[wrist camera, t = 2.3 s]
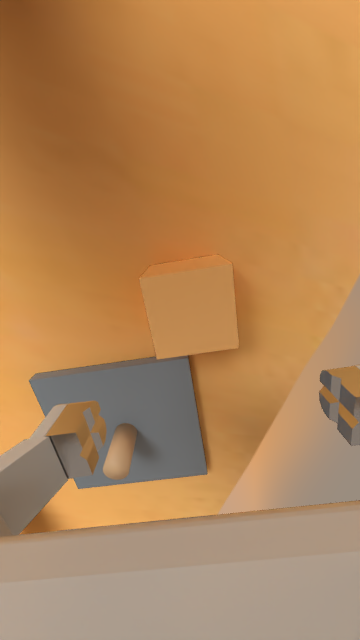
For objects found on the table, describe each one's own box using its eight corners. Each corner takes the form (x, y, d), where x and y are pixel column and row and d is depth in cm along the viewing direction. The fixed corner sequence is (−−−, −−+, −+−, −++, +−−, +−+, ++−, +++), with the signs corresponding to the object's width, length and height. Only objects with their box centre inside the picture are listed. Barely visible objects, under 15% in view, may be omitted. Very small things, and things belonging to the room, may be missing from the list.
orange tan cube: (149, 265, 21) (138, 278, 15) (218, 254, 21) (232, 263, 15) (162, 327, 23) (156, 359, 17) (224, 318, 23) (239, 347, 17)
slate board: (35, 373, 25) (-4, 413, 19) (187, 352, 24) (189, 387, 19) (82, 479, 30) (61, 532, 25) (206, 465, 30) (212, 516, 24)
